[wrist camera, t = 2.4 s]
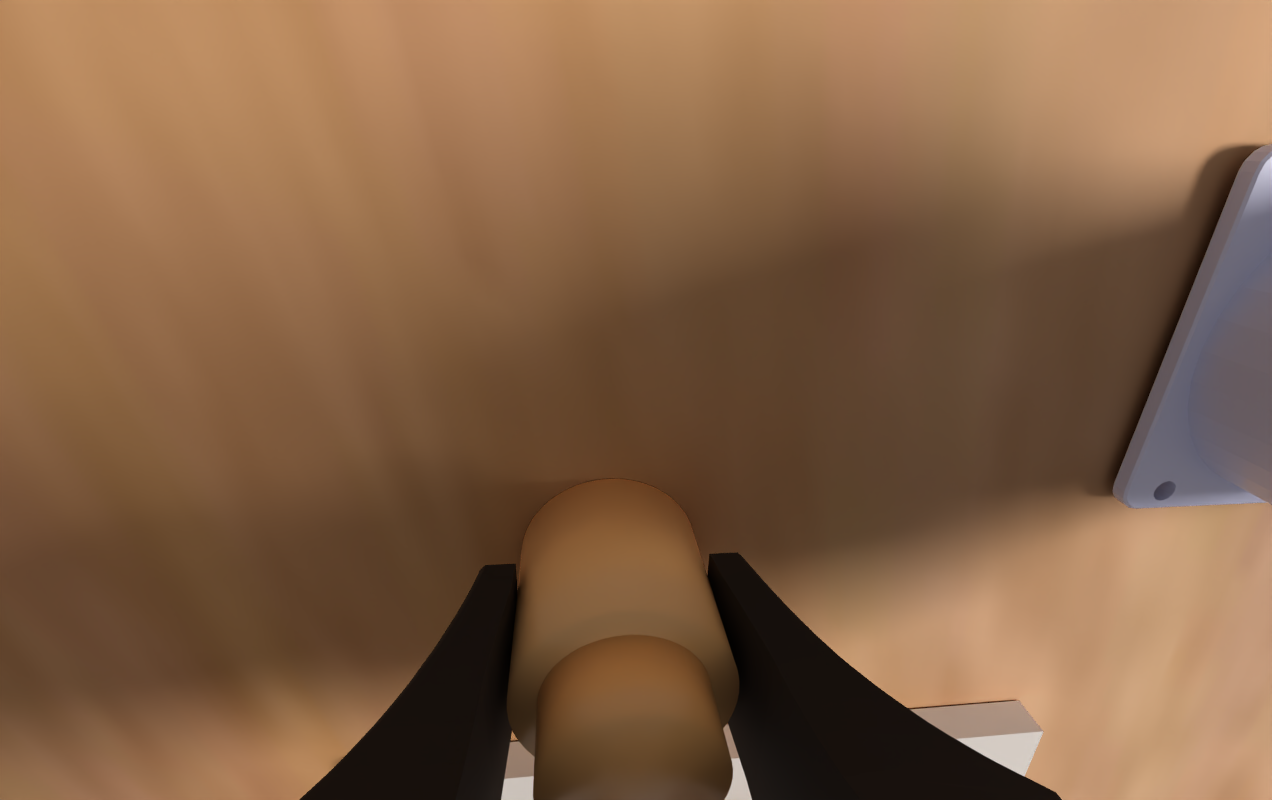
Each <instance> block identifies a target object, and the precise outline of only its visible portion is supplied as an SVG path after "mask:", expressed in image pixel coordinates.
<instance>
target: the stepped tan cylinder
mask: <svg viewBox="0 0 1272 800" xmlns="http://www.w3.org/2000/svg"><path fill="white" fill-rule="evenodd" d="M738 695H739V675H738V670H737V667H736V663H735V660H734V657H733V654H732V651H731V648H730V645H729V642H728V639H727V635H726V632H725V629H724V626H723V623H722V620H721V617H720V614H719V610H718V607H717V604H716V601H715V598H714V595H713V592H712V589H711V586H710V582H709V579H708V576H707V573H706V570H705V567H704V564H703V561H702V558H701V554H700V551H699V548H698V545H697V542H696V539H695V536H694V533H693V530H692V527H691V524H690V521H689V519H688V517H687V515H686V514H685V512H684V511H683V510H682V508H681V507H680V506H679V505H678V504H677V503H676V502H675V501H674V500H673V499H672V498H671V497H669V496H668V495H667V494H665V493H664V492H662V491H660V490H658V489H657V488H655V487H652V486H650V485H647V484H645V483H641V482H637V481H633V480H626V479H602V480H595V481H590V482H586V483H582V484H579V485H576V486H574V487H572V488H569V489H567V490H565V491H563V492H562V493H560V494H558V495H557V496H555V497H554V498H552V499H551V500H550V501H549V502H547V503H546V504H545V505H544V506H543V507H542V508H541V509H540V510H539V511H538V512H537V514H536V515H535V516H534V518H533V519H532V520H531V522H530V524H529V526H528V528H527V530H526V533H525V536H524V538H523V543H522V550H521V560H520V570H519V580H518V590H517V602H516V612H515V622H514V631H513V641H512V651H511V661H510V672H509V682H508V692H507V714H508V720H509V723H510V726H511V728H512V731H513V733H514V734H515V736H516V738H517V739H518V741H519V742H520V743H521V744H522V746H523V747H524V748H525V749H526V750H527V751H528V752H529V753H531V754H532V755H533V756H534V757H535V758H534V780H533V800H724V799H725V798H726V796H727V794H728V792H729V790H730V787H731V783H732V779H733V766H732V760H731V757H730V753H729V749H728V745H727V742H726V738H725V734H724V730H723V728H724V727H725V726H726V724H727V723H728V721H729V719H730V717H731V716H732V714H733V711H734V709H735V706H736V704H737V700H738Z"/></svg>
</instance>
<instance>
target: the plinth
mask: <svg viewBox="0 0 1272 800" xmlns="http://www.w3.org/2000/svg"><path fill="white" fill-rule="evenodd" d="M909 710H911V711H912V712H914V713H915V714H917V715H918V716H920V717H921V718H923V719H924V720H926V721H927V722H929V723H930V724H932V725H934V726H935V727H937V728H938V729H940V730H942V731H943V732H945V733H946V734H948V735H950V736H951V737H953V738H955V739H956V740H958V741H960V742H962V743H963V744H965V745H967V746H968V747H970V748H972V749H974V750H975V751H977V752H979V753H981V754H982V755H984V756H986V757H988V758H989V759H991V760H993V761H995V762H997V763H999V764H1001V765H1003V766H1005V767H1007V768H1009V769H1011V770H1013V771H1014V772H1016V773H1018V774H1020V775H1022V776H1025V774H1026V771H1027V769H1028V767H1029V764H1030V762H1031V760H1032V757H1033V755H1034V753H1035V750H1036V748H1037V746H1038V743H1039V741H1040V738H1041V736H1042V734H1043V730H1042V729H1041V727H1040V726H1039V725H1038V724H1037V722H1036V721H1035V720H1034V719H1033V717H1032V716H1031V715H1030V714H1029V712H1028V711H1027V710H1026V709H1025V707H1024V706H1023V705H1022V704H1021V702H1020V701H1007V702H995V703H983V704H970V705H958V706H946V707H934V708H921V709H909ZM723 730H724V734H725V738H726V742H727V745H728V749H729V753H730V757H731V760H732V766H733V779H732V783H731V787H730V790H729V792H728V794H727V796H726V798H725V799H724V800H752V798H751V795H750V791H749V788H748V784H747V780H746V777H745V774H744V771H743V768H742V765H741V762H740V759H739V756H738V753H737V750H736V746H735V743H734V740H733V737H732V734H731V731H730V728H729V725H728V724H726V726H725V727H724V728H723ZM534 758H535V757H534V756H533V755H532V754H531V753H529V752H528V751H527V750H526V749H525V748H524V747H523V746H522V744H521V743H520V742H519V741H518V742H510V746H509V752H508V759H507V765H506V771H505V778H504V784H503V790H502V797H501V800H533V780H534Z"/></svg>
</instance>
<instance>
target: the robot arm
mask: <svg viewBox="0 0 1272 800" xmlns="http://www.w3.org/2000/svg"><path fill="white" fill-rule="evenodd" d="M1113 494H1114V497H1115V498H1116V499H1118V500H1119V501H1120V502H1122V503H1123V504H1125V505H1126V506H1128V507H1129V508H1136V509H1137V508H1158V507H1180V506H1202V505H1224V504H1245V503H1267V502H1268V503H1269V504H1271V505H1272V144H1269V145H1264V146H1262V147H1260V148H1258V149H1257V150H1255V151H1253V152H1252V153H1251V155H1250V156H1249V157H1248V158H1247V159H1246V160H1245V161H1244V162H1243V164H1242V165H1241V167H1240V169H1239V171H1238V173H1237V176H1236V178H1235V181H1234V183H1233V186H1232V188H1231V191H1230V193H1229V196H1228V198H1227V201H1226V203H1225V206H1224V208H1223V211H1222V213H1221V216H1220V218H1219V221H1218V223H1217V226H1216V228H1215V231H1214V233H1213V236H1212V239H1211V241H1210V244H1209V246H1208V249H1207V251H1206V254H1205V256H1204V259H1203V261H1202V264H1201V266H1200V269H1199V271H1198V274H1197V276H1196V279H1195V281H1194V284H1193V286H1192V289H1191V291H1190V294H1189V296H1188V299H1187V301H1186V304H1185V306H1184V309H1183V311H1182V314H1181V316H1180V319H1179V321H1178V324H1177V326H1176V329H1175V331H1174V334H1173V337H1172V339H1171V342H1170V344H1169V347H1168V349H1167V352H1166V354H1165V357H1164V359H1163V362H1162V364H1161V367H1160V369H1159V372H1158V374H1157V377H1156V379H1155V382H1154V384H1153V387H1152V389H1151V392H1150V394H1149V397H1148V399H1147V402H1146V404H1145V407H1144V409H1143V412H1142V414H1141V417H1140V419H1139V422H1138V424H1137V427H1136V430H1135V432H1134V435H1133V437H1132V440H1131V442H1130V445H1129V447H1128V450H1127V452H1126V455H1125V457H1124V460H1123V462H1122V465H1121V467H1120V470H1119V472H1118V475H1117V477H1116V480H1115V482H1114V486H1113ZM708 579H709V582H710V586H711V589H712V592H713V595H714V598H715V601H716V604H717V607H718V610H719V614H720V617H721V620H722V623H723V626H724V629H725V632H726V635H727V639H728V642H729V645H730V648H731V651H732V654H733V657H734V660H735V663H736V667H737V670H738V675H739V695H738V700H737V704H736V706H735V709H734V711H733V714H732V716H731V717H730V719H729V721H728V725H729V728H730V731H731V734H732V737H733V740H734V743H735V746H736V750H737V753H738V756H739V759H740V762H741V765H742V768H743V771H744V774H745V777H746V780H747V784H748V788H749V791H750V795H751V798H752V800H1062V799H1061V798H1060V797H1059V796H1058V795H1057V793H1056V792H1054V791H1052V790H1050V789H1048V788H1046V787H1044V786H1042V785H1040V784H1038V783H1036V782H1034V781H1032V780H1030V779H1028V778H1026V777H1024V776H1022V775H1020V774H1018V773H1016V772H1014V771H1013V770H1011V769H1009V768H1007V767H1005V766H1003V765H1001V764H999V763H997V762H995V761H993V760H991V759H989V758H988V757H986V756H984V755H982V754H981V753H979V752H977V751H975V750H974V749H972V748H970V747H968V746H967V745H965V744H963V743H962V742H960V741H958V740H956V739H955V738H953V737H951V736H950V735H948V734H946V733H945V732H943V731H942V730H940V729H938V728H937V727H935V726H934V725H932V724H930V723H929V722H927V721H926V720H924V719H923V718H921V717H920V716H918V715H917V714H915V713H914V712H912V711H911V710H909V709H908V708H907V707H905V706H904V705H902V704H901V703H899V702H898V701H896V700H895V699H893V698H892V697H891V696H889V695H888V694H886V693H885V692H884V691H882V690H881V689H880V688H878V687H877V686H876V685H874V684H873V683H872V682H871V681H869V680H868V679H867V678H865V677H864V676H863V675H862V674H860V673H859V672H858V671H857V670H855V669H854V668H853V667H851V666H850V665H849V664H848V663H847V662H845V661H844V660H843V659H842V658H841V657H840V656H838V655H837V654H836V653H835V652H834V651H833V650H832V649H831V648H829V647H828V646H827V645H826V644H825V643H824V642H823V641H822V640H821V639H820V638H819V637H817V636H816V635H815V634H814V633H813V632H812V631H811V630H810V629H809V628H808V627H807V626H806V625H805V624H804V623H803V622H802V621H801V620H800V619H799V618H798V617H797V616H796V615H795V614H794V613H793V612H792V611H791V610H790V609H789V608H788V607H787V606H786V605H785V604H784V603H783V601H782V600H781V599H780V598H779V597H778V596H777V595H776V594H775V593H774V592H773V591H772V590H771V589H770V587H769V586H768V585H767V584H766V583H765V582H764V581H763V580H762V579H761V577H760V576H759V575H758V574H757V573H756V572H755V571H754V570H753V568H752V567H751V566H750V565H749V564H748V563H747V562H746V561H745V559H744V558H743V557H742V556H741V555H740V554H739V553H738V552H737V553H718V554H710V555H709V566H708ZM516 602H517V577H516V564H501V565H485V566H484V567H483V568H482V569H481V570H480V571H479V574H478V576H477V578H476V580H475V582H474V584H473V586H472V588H471V590H470V591H469V593H468V595H467V597H466V599H465V600H464V602H463V604H462V606H461V607H460V609H459V611H458V612H457V614H456V616H455V617H454V619H453V620H452V622H451V624H450V625H449V627H448V628H447V630H446V631H445V633H444V635H443V636H442V638H441V639H440V641H439V642H438V644H437V645H436V647H435V648H434V650H433V651H432V652H431V654H430V655H429V657H428V658H427V659H426V661H425V662H424V663H423V665H422V666H421V668H420V669H419V670H418V672H417V673H416V675H415V676H414V677H413V679H412V680H411V681H410V683H409V684H408V685H407V686H406V688H405V689H404V690H403V691H402V693H401V694H400V695H399V696H398V698H397V699H396V700H395V701H394V703H393V704H392V705H391V706H390V707H389V708H388V710H387V711H386V712H385V713H384V714H383V716H382V717H381V718H380V719H379V720H378V721H377V722H376V724H375V725H374V726H373V727H372V728H371V729H370V730H369V731H368V732H367V733H366V734H365V736H364V737H363V738H362V739H361V740H360V741H359V742H358V743H357V744H356V745H355V746H354V747H353V748H352V749H351V751H350V752H349V753H348V754H347V755H346V756H345V757H344V758H343V759H342V760H341V761H340V762H339V763H338V764H337V765H336V766H335V767H334V768H333V769H332V770H331V771H330V772H329V773H328V774H327V775H326V776H325V777H323V778H322V779H321V780H320V781H319V782H318V783H317V784H316V785H315V786H314V787H313V788H312V789H311V790H309V791H308V792H307V793H306V794H305V795H304V796H303V797H302V798H301V799H300V800H501V797H502V790H503V784H504V778H505V771H506V765H507V759H508V752H509V746H510V739H511V733H512V728H511V726H510V723H509V720H508V714H507V692H508V682H509V672H510V661H511V651H512V641H513V631H514V622H515V612H516Z"/></svg>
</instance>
